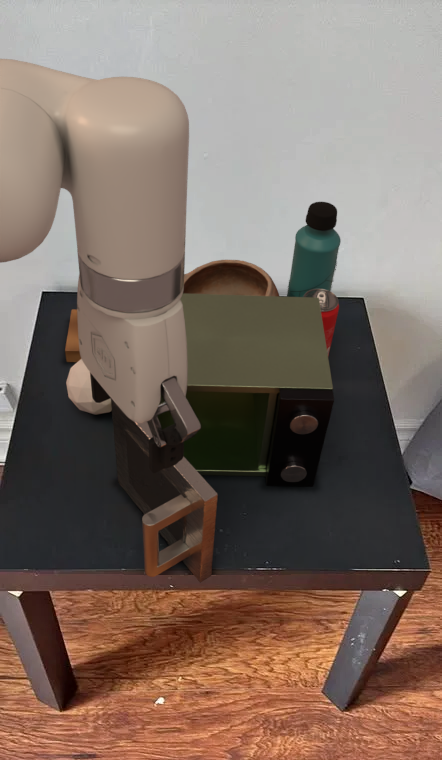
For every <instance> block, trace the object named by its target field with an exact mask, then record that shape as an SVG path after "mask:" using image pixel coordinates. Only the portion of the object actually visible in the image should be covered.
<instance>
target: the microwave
mask: <svg viewBox="0 0 442 760" xmlns="http://www.w3.org/2000/svg"><path fill="white" fill-rule="evenodd" d="M180 300H181V302H182V305H183V312H184V319H185V328H186V339H187V360H188V379H187V391H186V399H187V400H188V402H189V404H190V406H191V408H192V410H193V411H194V413H195V415H196V417H197V419H198V420H199V422H200V425H201V429H200V430H199V431H198V432H197V433H196V434H195V436H194V437H192V438H190V439H188V440H186V441H184V457H185V458H186V459H187V461H188V462H189V463H190V464H191V465H192V466H193V467H194V468H195V469H196V470H197V472H198V473H199V474H200V475H201V476H220V477H221V476H224V477H227V476H228V477H265V485H266V486H282V487H283V486H287V487H288V486H289V487H314V484H315V480H316V476H317V472H318V469H319V465H320V460H321V456H322V452H323V448H324V444H325V440H326V436H327V431H328V427H329V423H330V420H331V417H332V416H331V415H332V411H333V408H334V403H335V396H334V385H333V381H332V373H331V367H330V360H329V356H328V353H327V347H326V341H325V334H324V328H323V322H322V315H321V309H320V302H319V298H313V297H287V296H280V295H279V296H249V295H216V294H184V293H183V294H182V297H181V299H180ZM163 402H165V401H164V399H163V397H162V395H161V401H160V403H163ZM160 403H159V404H160ZM157 417H158V420H159V423H160V425H161V428H162V429H164V428H166V427H168V426H171V425H173V424H175V423H174V421H173V418H172V415H171V413H170V410H169V411H167V412H164V413H162V414H160V415H158V416H157Z"/></svg>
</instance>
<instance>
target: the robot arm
mask: <svg viewBox="0 0 442 760" xmlns="http://www.w3.org/2000/svg"><path fill="white" fill-rule="evenodd" d="M189 151H190V120H189V114H188V111H187V109H186V106H185V104H184V103H183V101H182V99H181V98H180V96H179V95H177V93H175V92H174V91H173V90H171V89H170V88H169V87H167V86H166V85H164V84H162V83H159V82H157V81H155V80H151V79H147V78H142V77H136V76H111V77H105V78H100V79H95V78H90V77H87V76H86V77H85V76H81V75H77V74H74V73H69V72H65V71H62V70H57V69H54V68H51V67H47V66H43V65H39V64H36V63H33V62H28V61H23V60H19V59H11V58H0V264H1V263H7V262H11V261H16V260H19V259H21V258H23V257H26V256H27V255H30V254H31V253H33V252H34V251H35V250H36V249H37V248H39V247H40V246H41V245H42V244H43V242H44V241H45V239H46V238H47V236H48V235H49V233H50V231H51V229H52V227H53V224H54V221H55V218H56V214H57V209H58V205H59V200H60V195H61V189H64V190H66V191H67V192H68V193H69V194H70V196H71V200H72V207H73V218H74V228H75V238H76V248H77V250H76V251H77V253H76V254H77V262H78V272H79V273H78V278H77V279H78V281H77V295H76V310H77V320H78V339H79V350H80V356H81V359H82V361H83V363H84V364H85V366H86V367H87V369H88V370H89V371H90V378H91V389H92V398H93V400H94V401H95V402H96V403H101V402H103V401H105V400H108V399H110V398H112V400H113V401H114V402H115V403H116V404H117V405H118V407H119V408H120V409H121V410H122V411H123V412H124V414H125V415H126V416H127V417H128V418H130V419H131V420H132V421H134V422H136V423H139V424H142V423H144V422H147V423H148V425H149V428H150V431H151V433H152V436H153V437H152V438H150V440H149V469H150V470H151V471H152V473H156V472H158V471H161V470H163V469H165V468H170V467H172V466H174V465H176V464H177V463H178V462H179V461H181V460H182V459H183V456H184V441H186V440H188V439H190V438H192V437H194V436H195V434H196V433H197V432H198V431H199V430H200V429H201V425H200V422H199V420H198V419H197V417H196V415H195V413H194V411H193V410H192V408H191V406H190V404H189V402H188V400H187V399H186V391H187V379H188V360H187V339H186V328H185V319H184V312H183V305H182V302H181V300H180V299H181V297H182V294H183V291H184V274H185V265H186V236H187V235H186V234H187V205H188V204H187V203H188V202H187V201H188V177H189V156H190V155H189V154H190V153H189ZM161 395H162V397H163V399H164V401H165V402H163V403H160V401H161ZM159 403H160V404H159ZM169 410H170V413H171V415H172V418H173V421H174V423H175V424H173V425H171V426H168V427H166V428H164V429H162V428H161V425H160V423H159V420H158V417H157V416H158V415H160V414H162V413H164V412H167V411H169Z"/></svg>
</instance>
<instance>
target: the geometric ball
mask: <svg viewBox="0 0 442 760" xmlns="http://www.w3.org/2000/svg"><path fill="white" fill-rule="evenodd" d="M65 384H66V390H67V391H66V392H67V394H68V395H67V396H68V399H69V400H70V401H71V402H72V403H73V405H75V407H76V408H77V409H78V410H79V411H82V412H84V413H89V414H92V415H102V414H108V413H110V412H112V407H111V398H110V399H108V400H105V401H103V402H101V403H96V402H95V401H94V400H93V398H92V389H91V378H90V371H89V370H88V369H87V367H86V366H85V364H84V363H83V361H82V359H80V360H79V361H78V362H75V363H74V364H73V365H72V366H71V367H70V368H69V372H68V375H67V379H66V382H65Z"/></svg>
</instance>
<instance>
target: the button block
mask: <svg viewBox="0 0 442 760" xmlns="http://www.w3.org/2000/svg"><path fill="white" fill-rule="evenodd" d="M65 342H66V343H65V349H64V353H65V359H66V360H65V361H66V362H67V363H77V362H78V361H79V360H80V359H81V356H80V350H79V339H78V320H77V308H76V309H74V308H73V309H71V311H70V318H69V324H68V330H67V336H66V341H65Z"/></svg>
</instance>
